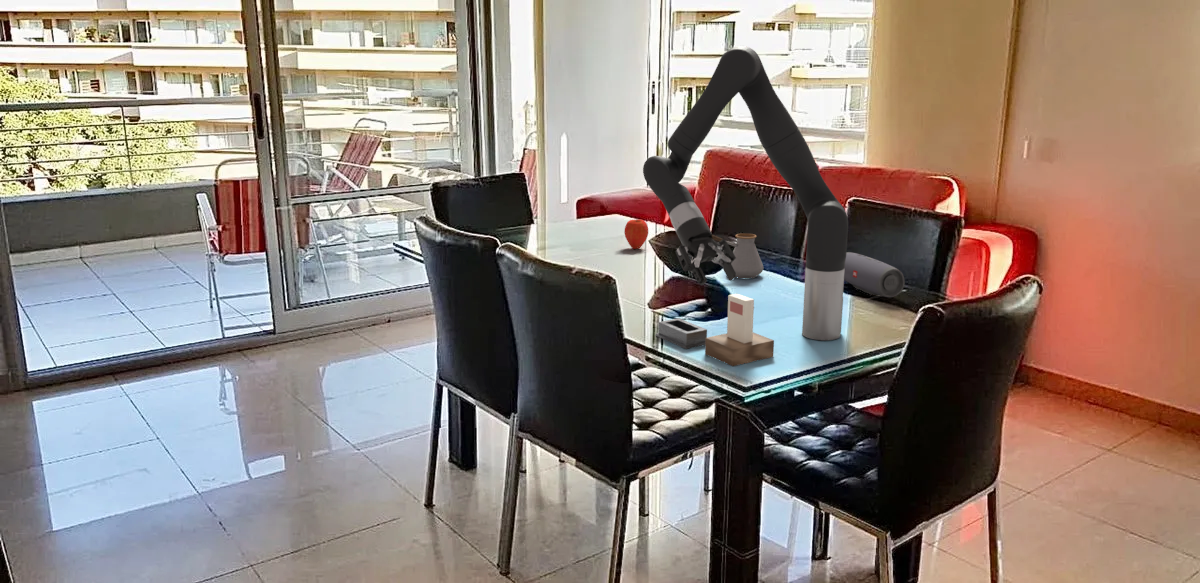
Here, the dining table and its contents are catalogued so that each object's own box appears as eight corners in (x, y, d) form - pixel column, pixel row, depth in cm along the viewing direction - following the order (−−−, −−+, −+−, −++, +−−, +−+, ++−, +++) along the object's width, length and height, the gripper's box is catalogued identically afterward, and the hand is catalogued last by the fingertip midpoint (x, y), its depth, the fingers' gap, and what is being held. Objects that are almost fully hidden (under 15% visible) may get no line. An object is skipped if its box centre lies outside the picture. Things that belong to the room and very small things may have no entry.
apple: (637, 252, 320) (637, 222, 318) (619, 249, 326) (618, 219, 323) (653, 248, 327) (653, 218, 324) (634, 245, 332) (635, 215, 329)
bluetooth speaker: (831, 284, 278) (833, 251, 275) (858, 281, 280) (861, 249, 278) (876, 303, 257) (878, 268, 254) (905, 300, 260) (907, 265, 257)
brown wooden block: (744, 345, 222) (745, 329, 221) (773, 356, 213) (774, 340, 212) (705, 354, 216) (705, 337, 215) (732, 366, 207) (733, 349, 206)
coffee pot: (752, 270, 295) (754, 224, 291) (769, 278, 284) (771, 230, 280) (690, 275, 288) (691, 228, 284) (705, 284, 278) (707, 235, 274)
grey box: (679, 331, 233) (679, 317, 232) (709, 344, 223) (710, 329, 222) (655, 335, 229) (655, 321, 228) (685, 349, 219) (685, 334, 218)
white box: (735, 334, 217) (736, 293, 214) (752, 341, 212) (754, 299, 209) (726, 336, 215) (728, 295, 213) (743, 343, 210) (745, 301, 208)
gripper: (672, 218, 217) (701, 276, 211) (720, 213, 224) (749, 268, 218) (659, 237, 223) (687, 293, 216) (706, 231, 230) (734, 285, 224)
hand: (718, 280), depth 217 cm, fingers open, 8 cm apart
